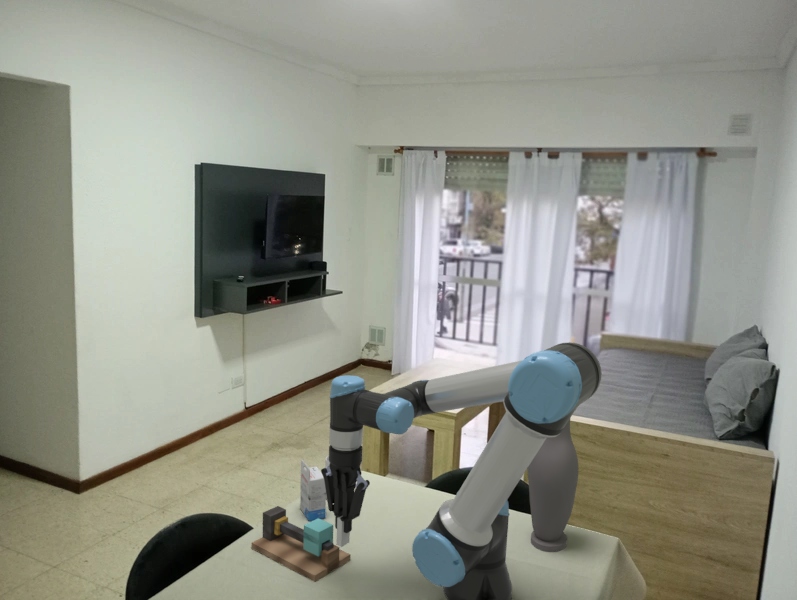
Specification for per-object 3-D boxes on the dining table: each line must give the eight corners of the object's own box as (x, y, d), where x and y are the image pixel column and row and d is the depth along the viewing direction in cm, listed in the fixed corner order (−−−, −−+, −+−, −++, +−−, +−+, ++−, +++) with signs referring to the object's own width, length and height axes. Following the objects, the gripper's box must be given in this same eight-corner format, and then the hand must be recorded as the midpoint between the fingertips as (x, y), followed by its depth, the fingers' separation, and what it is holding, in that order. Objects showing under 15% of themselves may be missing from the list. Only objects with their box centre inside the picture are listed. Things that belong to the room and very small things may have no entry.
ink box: (326, 518, 175) (327, 467, 173) (308, 522, 173) (309, 469, 171) (316, 505, 183) (317, 455, 181) (299, 508, 181) (300, 458, 179)
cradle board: (350, 560, 155) (351, 529, 154) (314, 581, 145) (315, 548, 144) (287, 529, 168) (287, 501, 167) (250, 547, 159) (250, 517, 158)
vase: (571, 558, 159) (581, 421, 155) (518, 548, 163) (527, 414, 159) (574, 535, 171) (584, 407, 167) (525, 526, 175) (533, 401, 171)
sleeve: (332, 548, 153) (333, 524, 152) (318, 556, 149) (318, 532, 148) (317, 541, 156) (318, 518, 155) (303, 549, 152) (303, 525, 151)
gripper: (378, 447, 143) (375, 547, 146) (336, 433, 151) (333, 528, 154) (356, 457, 137) (353, 560, 140) (313, 442, 145) (311, 540, 148)
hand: (342, 543), depth 147 cm, fingers closed
